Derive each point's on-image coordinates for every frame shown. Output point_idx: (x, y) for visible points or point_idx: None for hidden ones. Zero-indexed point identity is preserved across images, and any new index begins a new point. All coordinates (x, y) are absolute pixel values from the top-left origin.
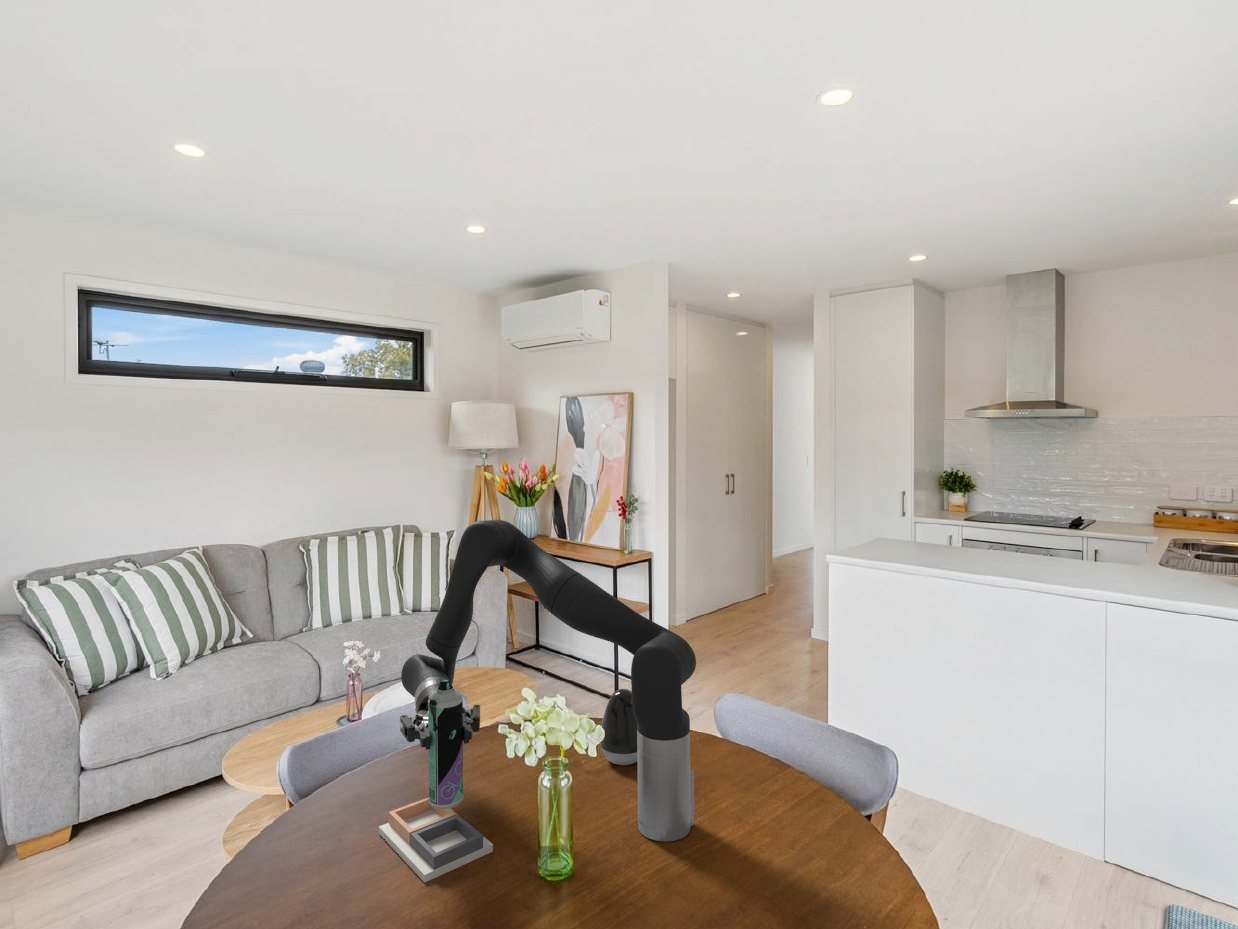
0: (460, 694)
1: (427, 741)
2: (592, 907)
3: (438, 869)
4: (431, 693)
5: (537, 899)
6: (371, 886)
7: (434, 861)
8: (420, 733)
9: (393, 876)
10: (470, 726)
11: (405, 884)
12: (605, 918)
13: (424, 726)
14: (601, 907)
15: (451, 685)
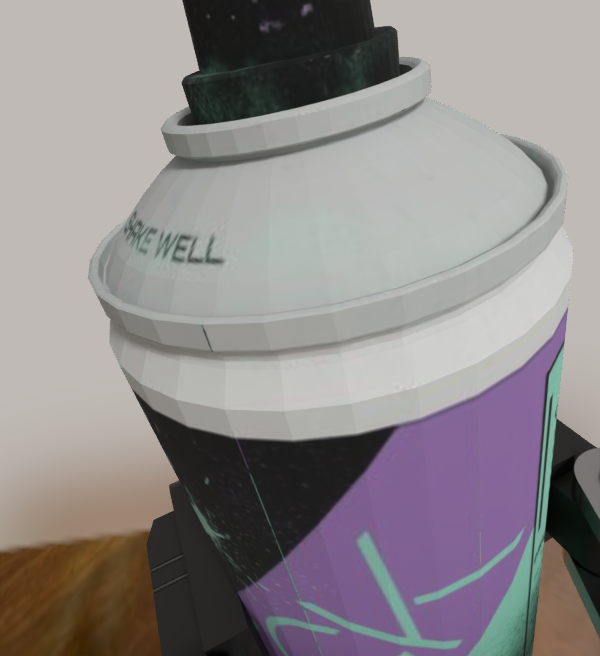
0: (113, 251)
1: None
2: (26, 577)
3: None
4: (549, 163)
5: (132, 589)
6: (574, 589)
7: None
8: (556, 423)
9: (545, 643)
10: (159, 609)
11: None
12: (15, 550)
13: (587, 469)
14: (8, 580)
15: (187, 77)
